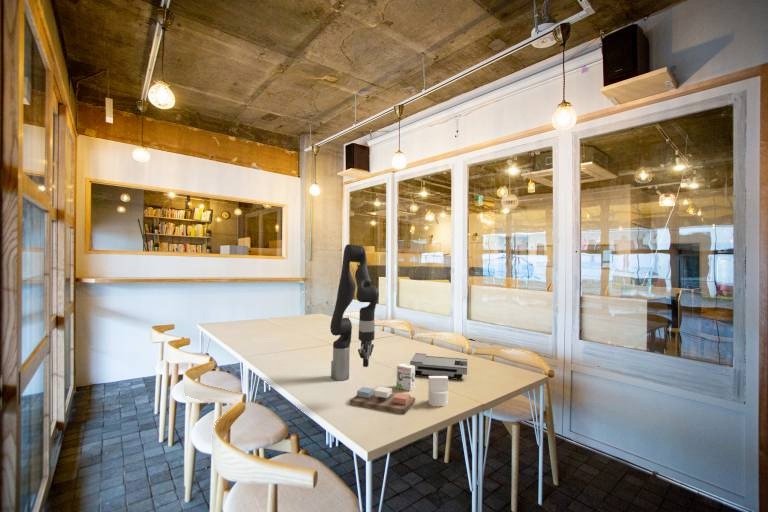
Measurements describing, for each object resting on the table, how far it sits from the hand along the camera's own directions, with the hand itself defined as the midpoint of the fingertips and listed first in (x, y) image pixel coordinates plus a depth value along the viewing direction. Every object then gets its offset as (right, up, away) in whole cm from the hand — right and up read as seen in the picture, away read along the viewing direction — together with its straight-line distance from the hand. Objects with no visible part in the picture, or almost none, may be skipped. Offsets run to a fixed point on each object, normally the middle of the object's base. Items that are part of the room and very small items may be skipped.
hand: (365, 366), depth 169 cm
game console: (+41, -18, +44) cm, 63 cm away
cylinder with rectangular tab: (+34, -16, -2) cm, 38 cm away
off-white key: (+8, -12, -4) cm, 15 cm away
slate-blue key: (0, -13, 0) cm, 13 cm away
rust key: (+17, -14, -7) cm, 23 cm away
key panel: (+8, -16, -4) cm, 18 cm away
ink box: (+20, -17, +16) cm, 31 cm away
